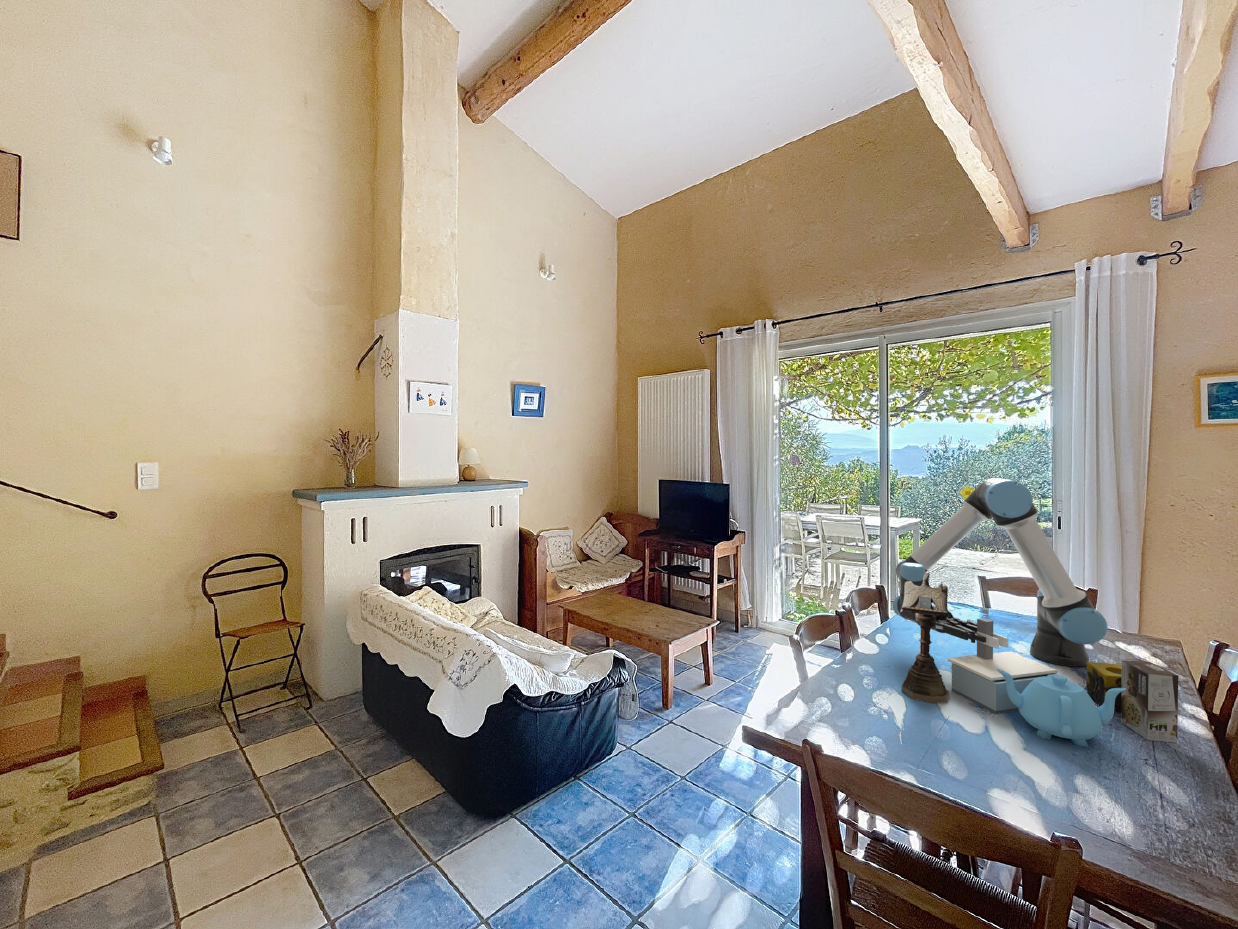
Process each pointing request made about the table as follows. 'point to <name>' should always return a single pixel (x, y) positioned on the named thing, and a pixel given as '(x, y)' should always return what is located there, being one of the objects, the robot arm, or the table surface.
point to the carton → (987, 689)
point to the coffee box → (1150, 700)
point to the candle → (1104, 682)
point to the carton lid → (998, 660)
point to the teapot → (1061, 707)
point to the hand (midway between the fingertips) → (1002, 643)
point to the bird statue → (925, 641)
